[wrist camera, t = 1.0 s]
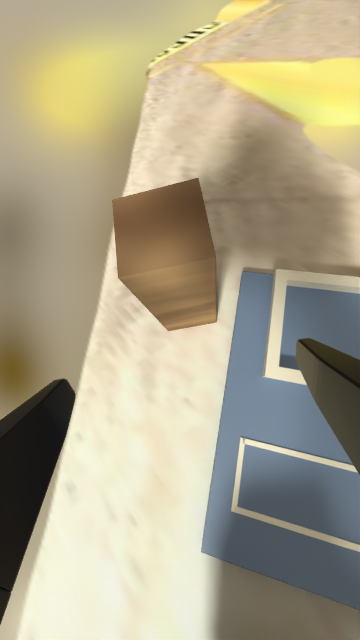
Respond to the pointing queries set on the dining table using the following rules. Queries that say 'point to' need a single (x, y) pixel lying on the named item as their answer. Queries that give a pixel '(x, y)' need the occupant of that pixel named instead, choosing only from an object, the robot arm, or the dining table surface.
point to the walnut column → (168, 253)
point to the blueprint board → (286, 441)
